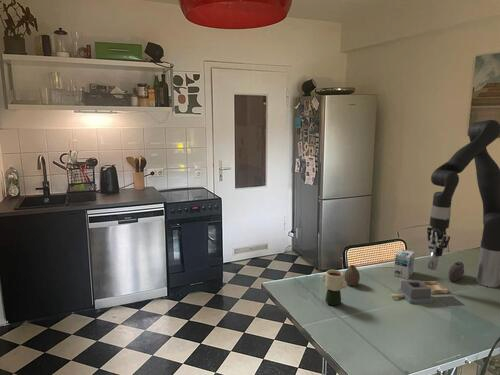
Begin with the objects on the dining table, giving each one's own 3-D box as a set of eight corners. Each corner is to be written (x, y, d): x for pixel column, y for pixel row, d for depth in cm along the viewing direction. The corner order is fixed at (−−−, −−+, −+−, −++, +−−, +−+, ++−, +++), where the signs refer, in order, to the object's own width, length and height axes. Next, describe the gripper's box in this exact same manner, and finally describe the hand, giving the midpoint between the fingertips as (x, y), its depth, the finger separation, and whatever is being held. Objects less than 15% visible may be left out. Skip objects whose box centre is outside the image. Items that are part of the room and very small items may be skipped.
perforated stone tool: (455, 285, 170) (457, 271, 169) (443, 281, 173) (444, 267, 172) (465, 276, 180) (467, 262, 179) (453, 273, 184) (455, 259, 183)
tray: (436, 284, 170) (436, 281, 169) (448, 293, 161) (448, 289, 161) (417, 285, 169) (417, 281, 169) (428, 294, 160) (429, 290, 160)
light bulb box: (407, 279, 175) (409, 257, 174) (393, 275, 179) (395, 254, 178) (413, 272, 184) (415, 251, 182) (399, 268, 188) (401, 248, 186)
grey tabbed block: (422, 265, 165) (426, 242, 163) (436, 267, 166) (441, 243, 164) (427, 269, 161) (432, 245, 159) (441, 270, 162) (447, 247, 160)
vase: (357, 281, 172) (359, 263, 171) (360, 287, 165) (361, 269, 164) (342, 280, 173) (343, 262, 171) (344, 287, 166) (346, 268, 164)
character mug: (349, 304, 150) (351, 274, 148) (340, 310, 145) (342, 279, 143) (326, 295, 157) (328, 266, 155) (316, 301, 152) (318, 271, 150)
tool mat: (452, 297, 158) (452, 296, 158) (465, 306, 150) (465, 305, 150) (434, 297, 157) (434, 296, 157) (446, 306, 149) (446, 305, 149)
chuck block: (419, 292, 162) (420, 279, 161) (432, 303, 152) (434, 289, 151) (386, 293, 160) (387, 280, 159) (397, 304, 151) (398, 290, 150)
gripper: (423, 212, 166) (418, 248, 169) (441, 220, 152) (436, 260, 155) (439, 212, 167) (434, 248, 170) (458, 220, 153) (453, 260, 156)
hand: (435, 253), depth 162 cm, fingers closed on grey tabbed block, 4 cm apart
